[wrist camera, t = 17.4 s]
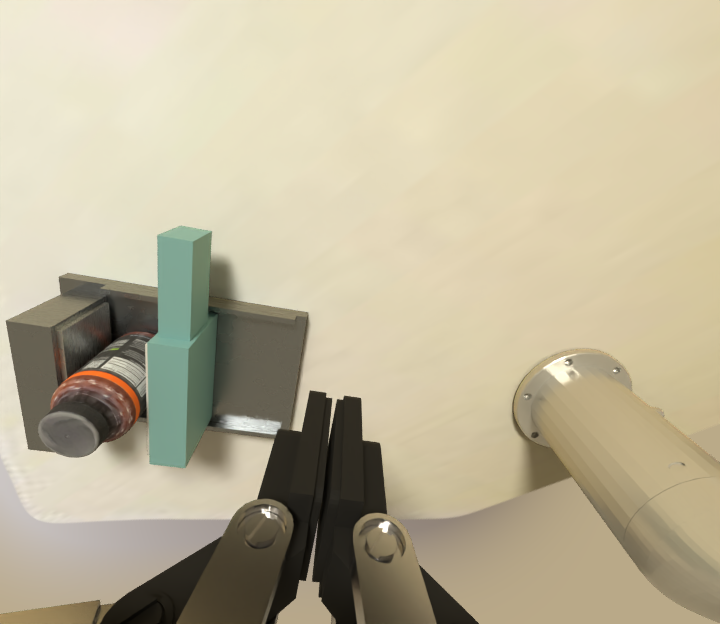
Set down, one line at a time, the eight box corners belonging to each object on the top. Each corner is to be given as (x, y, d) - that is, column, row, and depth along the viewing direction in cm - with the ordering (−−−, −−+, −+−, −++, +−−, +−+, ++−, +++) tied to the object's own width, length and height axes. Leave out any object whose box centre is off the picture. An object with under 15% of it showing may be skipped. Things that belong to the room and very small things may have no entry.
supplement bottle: (150, 392, 37) (75, 482, 27) (101, 352, 36) (0, 432, 25) (191, 360, 36) (130, 441, 26) (143, 316, 34) (55, 385, 24)
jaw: (222, 228, 31) (191, 245, 25) (211, 416, 39) (185, 468, 32) (181, 220, 31) (138, 236, 25) (178, 412, 38) (144, 463, 32)
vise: (307, 312, 36) (298, 353, 29) (290, 426, 41) (277, 486, 34) (55, 270, 34) (-29, 303, 26) (69, 397, 39) (3, 455, 31)
